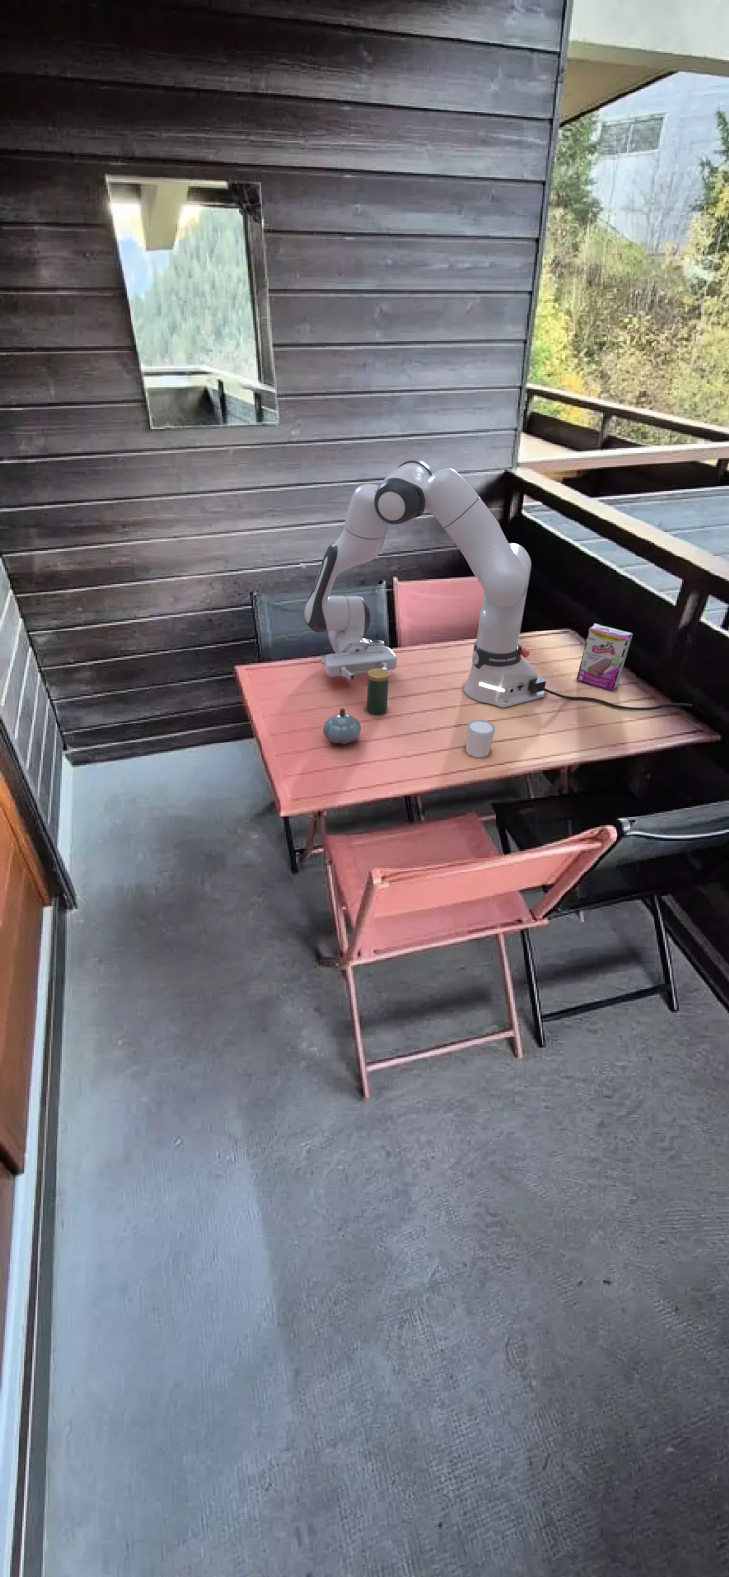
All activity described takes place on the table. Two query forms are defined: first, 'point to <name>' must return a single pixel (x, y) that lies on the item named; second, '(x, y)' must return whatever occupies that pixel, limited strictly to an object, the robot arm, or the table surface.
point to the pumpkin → (342, 728)
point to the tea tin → (377, 691)
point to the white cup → (479, 738)
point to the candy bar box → (604, 656)
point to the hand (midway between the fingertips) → (368, 675)
